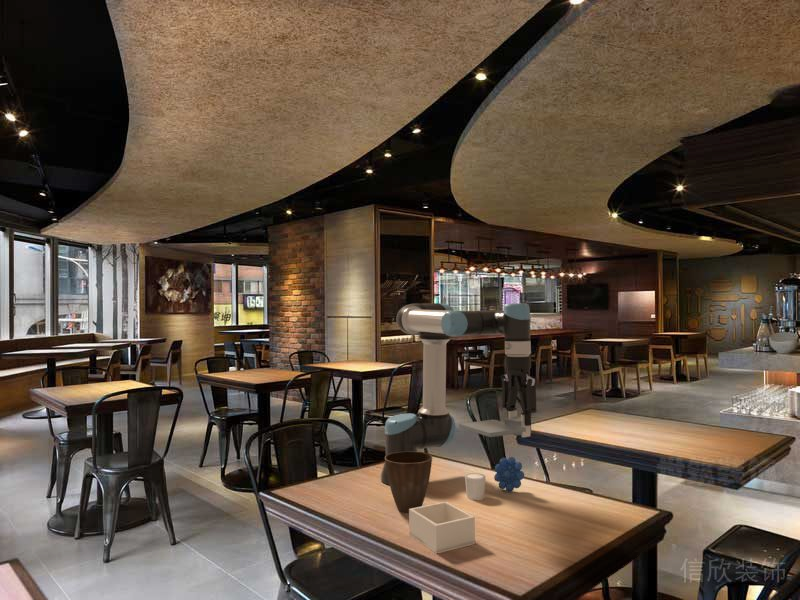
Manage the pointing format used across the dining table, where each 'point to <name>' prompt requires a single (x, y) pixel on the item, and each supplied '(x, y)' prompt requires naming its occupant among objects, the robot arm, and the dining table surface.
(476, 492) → the beige cup
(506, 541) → the dining table surface
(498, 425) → the lid
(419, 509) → the tub
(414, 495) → the plant pot
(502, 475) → the grapes
